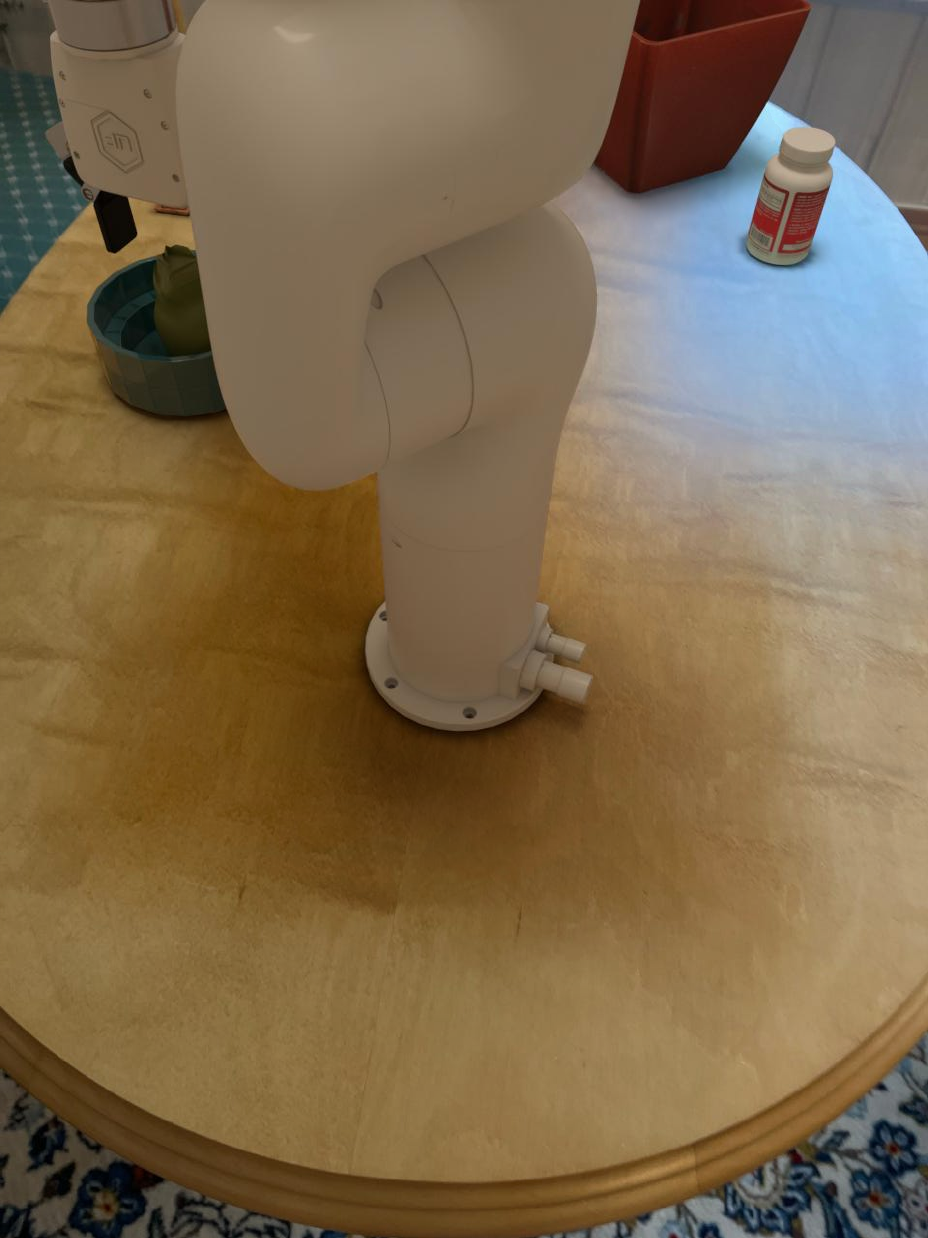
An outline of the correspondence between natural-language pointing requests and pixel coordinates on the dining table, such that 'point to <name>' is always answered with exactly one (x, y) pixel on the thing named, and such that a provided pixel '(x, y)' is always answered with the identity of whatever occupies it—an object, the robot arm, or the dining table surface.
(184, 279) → the pear
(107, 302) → the bowl
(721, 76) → the flower pot
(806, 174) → the pill bottle
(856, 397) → the dining table surface
